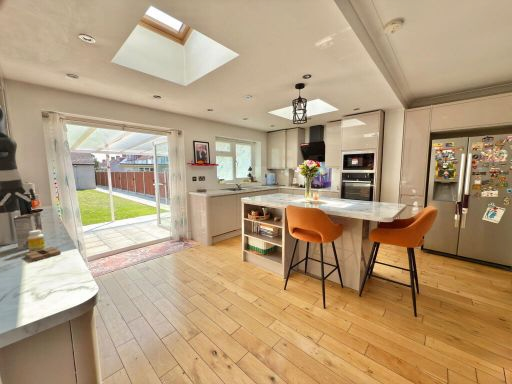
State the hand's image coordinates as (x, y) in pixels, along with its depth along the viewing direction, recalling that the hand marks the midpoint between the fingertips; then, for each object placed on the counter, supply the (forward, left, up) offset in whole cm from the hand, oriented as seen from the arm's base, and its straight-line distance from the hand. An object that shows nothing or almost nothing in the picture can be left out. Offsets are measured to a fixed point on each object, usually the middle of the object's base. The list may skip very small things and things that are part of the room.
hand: (17, 210), depth 105 cm
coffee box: (+5, +2, -19) cm, 20 cm away
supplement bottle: (+17, +1, -19) cm, 26 cm away
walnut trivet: (+29, 0, -19) cm, 35 cm away
